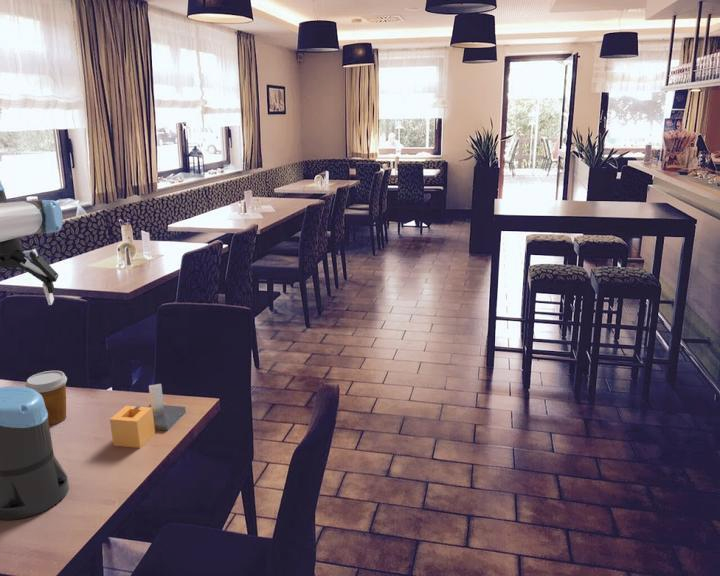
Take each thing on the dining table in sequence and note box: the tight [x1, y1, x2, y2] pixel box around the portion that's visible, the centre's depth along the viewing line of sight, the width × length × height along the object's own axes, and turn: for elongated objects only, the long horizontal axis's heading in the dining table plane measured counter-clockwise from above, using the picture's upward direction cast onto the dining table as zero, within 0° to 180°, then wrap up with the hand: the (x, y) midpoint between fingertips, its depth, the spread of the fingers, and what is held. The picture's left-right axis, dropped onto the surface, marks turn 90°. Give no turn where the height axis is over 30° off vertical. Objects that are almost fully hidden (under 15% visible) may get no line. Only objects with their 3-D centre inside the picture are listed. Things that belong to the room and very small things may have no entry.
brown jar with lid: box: [25, 370, 68, 426], centre depth 155 cm, size 10×10×12 cm
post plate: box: [147, 383, 187, 432], centre depth 154 cm, size 10×10×10 cm
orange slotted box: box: [109, 405, 156, 449], centre depth 145 cm, size 7×7×7 cm
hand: (24, 303), depth 161 cm, fingers open, 13 cm apart
